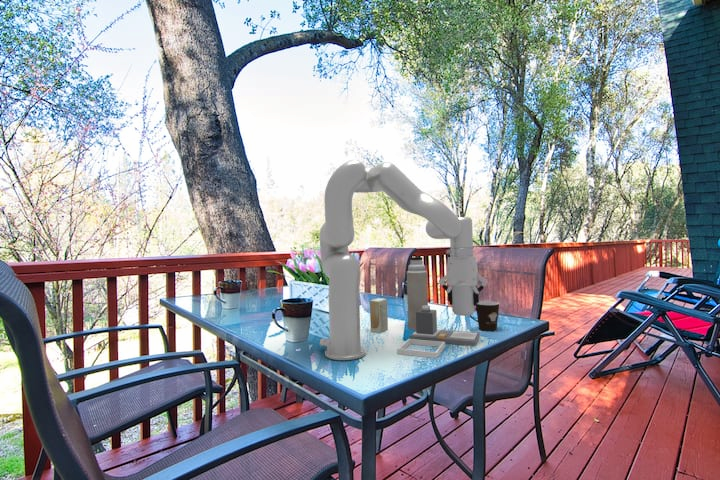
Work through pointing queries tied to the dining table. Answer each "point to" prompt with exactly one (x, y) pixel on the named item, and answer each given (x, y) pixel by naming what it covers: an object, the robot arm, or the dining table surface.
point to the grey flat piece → (450, 337)
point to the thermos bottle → (416, 289)
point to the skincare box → (378, 315)
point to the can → (462, 299)
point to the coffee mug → (487, 315)
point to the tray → (417, 352)
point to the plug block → (426, 320)
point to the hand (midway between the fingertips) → (463, 304)
